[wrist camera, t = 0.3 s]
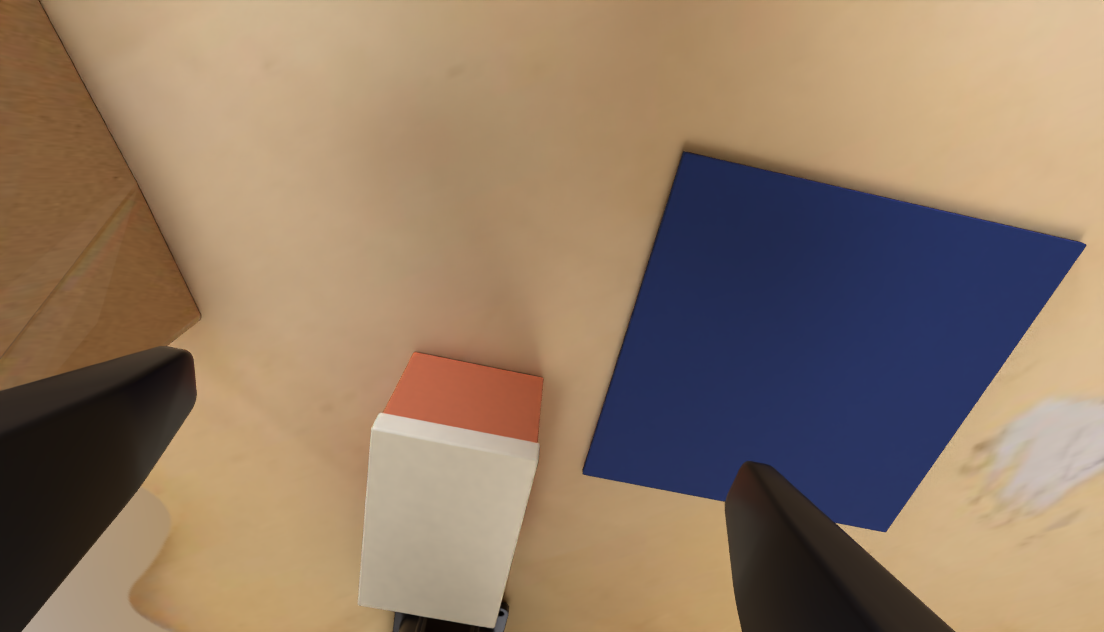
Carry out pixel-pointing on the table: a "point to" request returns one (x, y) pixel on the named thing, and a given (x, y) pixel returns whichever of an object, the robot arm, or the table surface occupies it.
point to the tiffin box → (448, 489)
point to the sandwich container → (71, 222)
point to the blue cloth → (813, 338)
